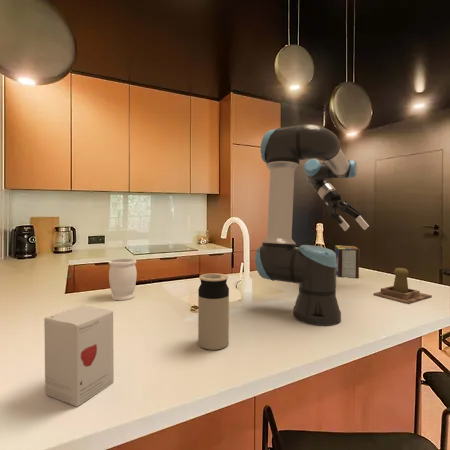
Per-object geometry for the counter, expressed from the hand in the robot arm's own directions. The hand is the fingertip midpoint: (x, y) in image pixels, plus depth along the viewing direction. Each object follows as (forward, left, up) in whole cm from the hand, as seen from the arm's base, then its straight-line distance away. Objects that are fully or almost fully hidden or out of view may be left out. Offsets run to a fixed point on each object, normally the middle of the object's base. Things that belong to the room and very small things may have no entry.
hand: (357, 228), depth 130 cm
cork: (+9, -15, -27) cm, 32 cm away
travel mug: (-79, -14, -28) cm, 85 cm away
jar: (-90, +41, -28) cm, 103 cm away
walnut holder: (+10, -15, -28) cm, 33 cm away
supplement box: (-111, -18, -28) cm, 116 cm away
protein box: (+26, +24, -28) cm, 45 cm away
